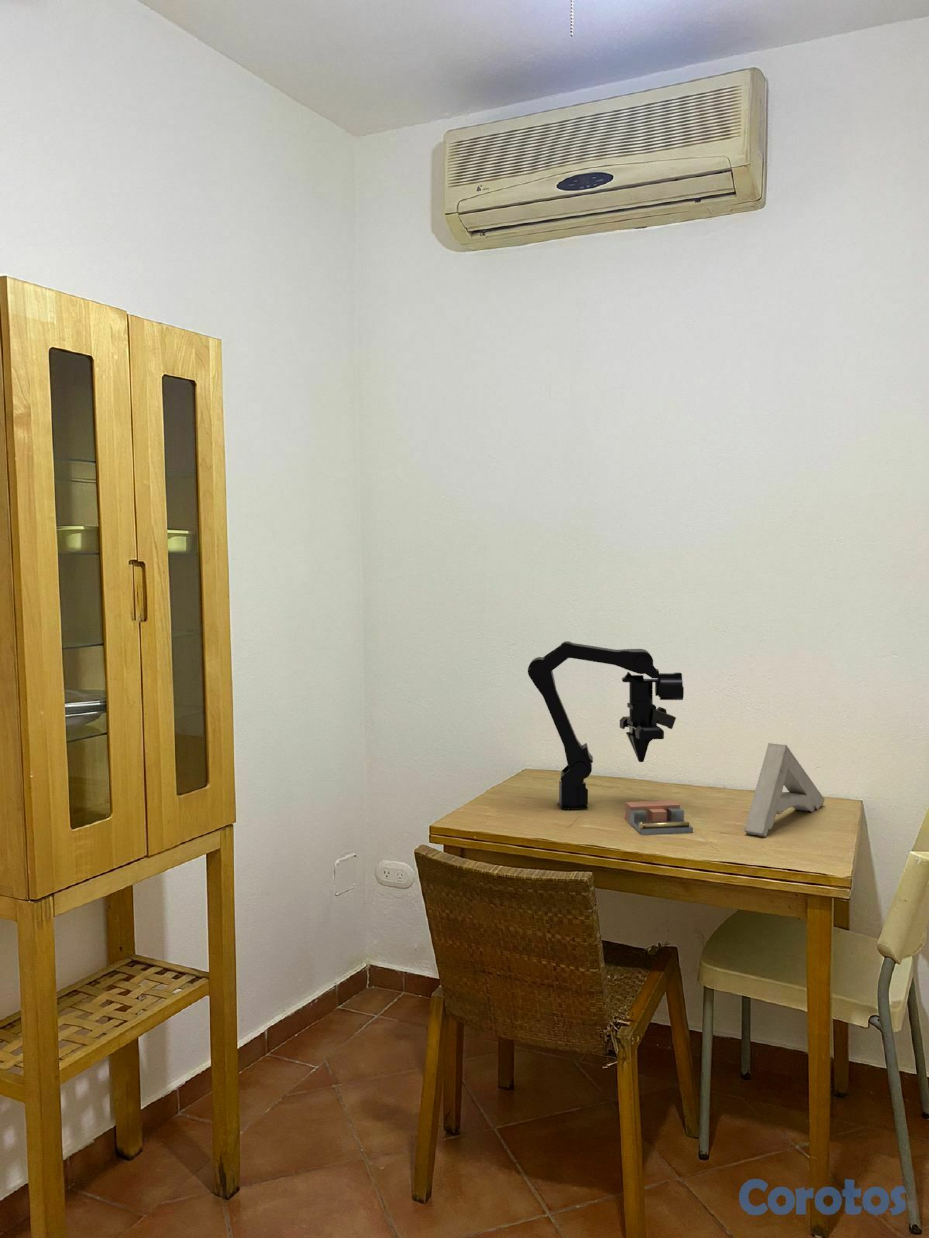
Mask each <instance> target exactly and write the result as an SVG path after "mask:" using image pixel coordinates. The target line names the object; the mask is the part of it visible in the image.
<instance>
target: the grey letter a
mask: <svg viewBox="0 0 929 1238" xmlns="http://www.w3.org/2000/svg"><path fill="white" fill-rule="evenodd" d="M758 775H759V776H758V779H757V783H756V787H755V791H754V793H753V798H752V800H751V801H752V802H751V805H750V808H749V811H748V816H747V819H746V822H745V823H746V824H745V827H744V832H745V833H746V834H747V835H751V836H756V835H758V836H757V837H761V836H762V837H763V838H766V837H767V835H768V831H769V830H771V829H772V828H773V826H774V824H775V821H776V816H777V815H781V814H782V813H784V812H785V811H787V810H788V809H790V808H792V809H794V810H795V809H796V810H797V811H803V812H808V811H810V813H814V812H815V810H816V809H817V810H819V809H820V808H821V806H824V804H825V798H824V796H823V795H822V794H821V792H820V790H819V789H818V788H817V786H816V784H814V782H813V780H812V779H811V778H810V776H809V774H807V772H806V771H805V769H804V768H803V767H802V764H800V763H799V760H797V758H796V757H795V755H794V754H793V752H792V751H791V750H790V748H789V747H788V745H787V744H778V743H773V742H772V743H771V742H769V743H767V746H766V751H765V754H764V758H763V761H762V765H761V769H760V772H759V774H758ZM784 787H785V788H786V790H787V791H785V792H783V790H784ZM796 810H795V811H796ZM817 810H816V811H817ZM813 811H814V812H813Z"/></svg>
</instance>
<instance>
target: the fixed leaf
mask: <svg viewBox="0 0 929 1238" xmlns="http://www.w3.org/2000/svg"><path fill="white" fill-rule="evenodd" d="M639 822H642V823H668V822H686V821H685V811H684V809H682V807H681V806H680V807H667V821H659V822H647V812H646V811H645V810H643V809H642V808H639V809H630V822H629V824H630V825H631V826H632V827H633V828H634V829H635V830H636V831H638V833H639V834H640V835H641V836H645V835H646V836H647V835H648V836H649V835H672V834H676V835H677V834H693V833H694V828H693V826H691V824H689V826H681V827H654V828H643V829H639Z"/></svg>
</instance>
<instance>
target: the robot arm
mask: <svg viewBox="0 0 929 1238" xmlns="http://www.w3.org/2000/svg"><path fill="white" fill-rule="evenodd" d="M568 659H576V660H581V661H587V662H593V663H594V662H595V663H600V664H607V665H612V666H615V667H620V668H622V669H624V670H627V673H626V674H625V675H624V676H623V677H621V681H622V683H628V684H629V686H628V687H629V689H628V691H629V692H628V693H629V697H628V698H629V699H628V700H629V701H628V702H627V704H626V705H627V706H626V707H627V708H629V713H628V714H629V715H628V716H621V718H620V719H619V728H620V729H622V730H625V729H626V728H628V729H629V730H628V731H627V732H625V734H626V736H627V738H628V740H629V743H630V744H631V745H630V746H631V747H632V749H633V751H634V754H635V756H636V759H637V761H638V762H639V763H643V762H645V758H646V755H647V754H646V753H647V751H648V747H649V744H650V743H651V741H653V740H664V739H665V731H664V729H663V728H661V727H660V726H658V725H661V726H662V727H663V726H664V727H666V728H668V729H670V730H673V728H674V726H675V722H676V719H677V717H676V716H674V715H672V714H670V713H667V708H664V707H662V706H658V707H657V706H656V704H654V703H653V702H654V701H653V700H654V697H653V695H654V694H655V695H654V696H655V697H658V698H659V700H660V701H683V700H684V694H685V693H684V691H685V690H684V689H685V687H684V684H683V674H682V673H681V672H673V673H672V672H671V673H666V672H665V673H663V672H661V673H660V671H659V669H658V668H656V667H655V666H654V658H653V656H652V655H651V653H650V652H649V651H647V650H646V649H644V648H626V649H625V648H624V649H614V648H607V647H601V646H594V645H589V644H582V643H575V642H572V641H569V640H568V641H567V640H566V641H563V642H561V643H560V645H559V646H557V647H555V648H554V649H553V650H552V651H550V652H548V653H547V654H546V655H544V656H542V657H541V656H537V657H535V658H533V659H532V660H531V661H530V663H529V665H528V667H527V674H528V676H529V678H530V680H531V681H532V683H533V684H534V686H535V688H536V689H537V690H538V692H539V693H540V694H541V695H542V698H543V701H544V702H545V705H546V707H547V709H548V712H549V714H550V717H551V719H552V721H553V724H554V726H555V729H556V730H557V733H558V736H559V737H560V740H561V743H562V745H563V748H564V753H565V758H566V762H567V763H566V766H565V767H564V768H563V769H562V770H561V772H560V778H559V779H560V780H559V781H558V783H559V784H558V801H557V805H558V804H559V805H558V807H560V809H561V808H562V809H561V810H564V811H566V810H568V811H569V810H588V804H589V788H587V786H586V785H587V783H586V782H585V781H584V780H586V779H587V778H588V777H589V776H590V775H591V773H592V771H593V767H592V766H593V763H594V757H593V755H592V754H591V753H590V750H589V746H588V743H586V742H585V743H583V744H582V743H581V742H580V741H579V739H578V738H577V736H576V733H575V730H574V728H573V726H572V723H571V721H570V719H569V716H568V713H567V712H566V709H565V706H564V704H563V703H562V699H561V697H560V695H559V692H558V689H557V686H556V681H555V675H554V672H553V670H555V669H556V668H558V667H559V666H560V665H562V664H563V663H564V662H565V661H567V660H568ZM630 672H632V673H636V674H632V673H630ZM644 675H646V676H648V677H650V678H644ZM653 684H654V686H653ZM653 687H654V688H653ZM653 689H654V691H653ZM653 692H654V694H653Z"/></svg>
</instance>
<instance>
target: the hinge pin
mask: <svg viewBox="0 0 929 1238" xmlns="http://www.w3.org/2000/svg"><path fill="white" fill-rule="evenodd" d="M689 825H690V821H685V822H668V823H642V822H639V829H643V828H654V827H681V826H689Z"/></svg>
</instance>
